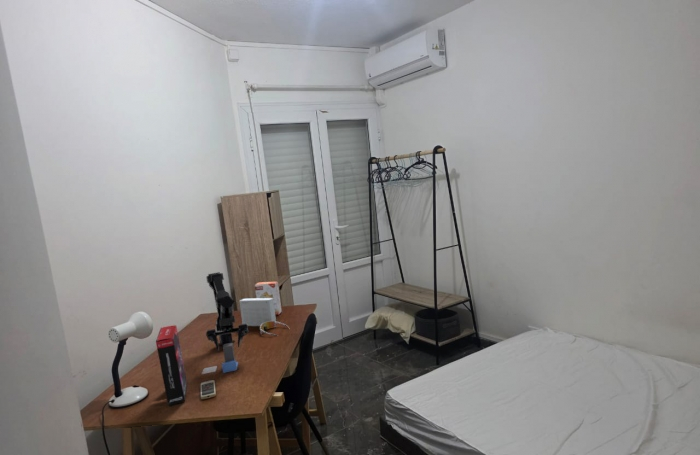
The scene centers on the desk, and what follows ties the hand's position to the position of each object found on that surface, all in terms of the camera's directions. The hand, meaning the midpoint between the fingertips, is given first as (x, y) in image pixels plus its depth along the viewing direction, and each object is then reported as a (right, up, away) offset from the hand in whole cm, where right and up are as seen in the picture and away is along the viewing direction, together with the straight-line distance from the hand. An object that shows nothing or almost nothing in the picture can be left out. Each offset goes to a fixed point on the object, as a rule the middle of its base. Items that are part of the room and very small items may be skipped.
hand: (228, 348), depth 187 cm
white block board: (-3, -9, -1) cm, 10 cm away
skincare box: (+2, -3, +57) cm, 57 cm away
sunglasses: (+13, -3, +42) cm, 44 cm away
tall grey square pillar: (+1, -8, 0) cm, 8 cm away
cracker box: (+5, 0, +75) cm, 76 cm away
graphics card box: (-15, -13, -21) cm, 29 cm away
